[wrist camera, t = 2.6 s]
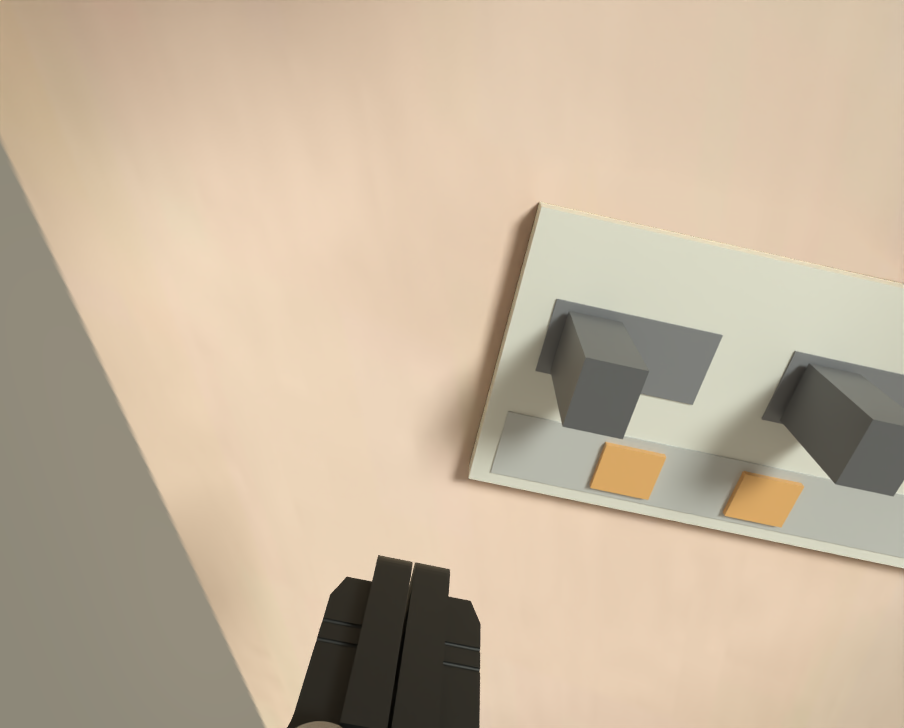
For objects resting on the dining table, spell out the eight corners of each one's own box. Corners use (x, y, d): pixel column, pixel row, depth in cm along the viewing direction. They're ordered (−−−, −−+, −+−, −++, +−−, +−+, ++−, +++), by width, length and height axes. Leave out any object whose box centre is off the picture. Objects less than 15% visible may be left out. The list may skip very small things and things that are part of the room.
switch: (569, 310, 27) (585, 357, 22) (622, 322, 27) (649, 371, 22) (550, 370, 28) (562, 426, 23) (601, 381, 28) (622, 439, 24)
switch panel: (539, 201, 26) (542, 208, 25) (1246, 360, 28) (1288, 376, 26) (469, 465, 32) (468, 483, 31) (1054, 586, 34) (1080, 609, 32)
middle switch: (809, 363, 27) (873, 419, 23) (860, 374, 27) (934, 432, 23) (779, 420, 28) (835, 484, 24) (829, 430, 28) (893, 496, 24)
